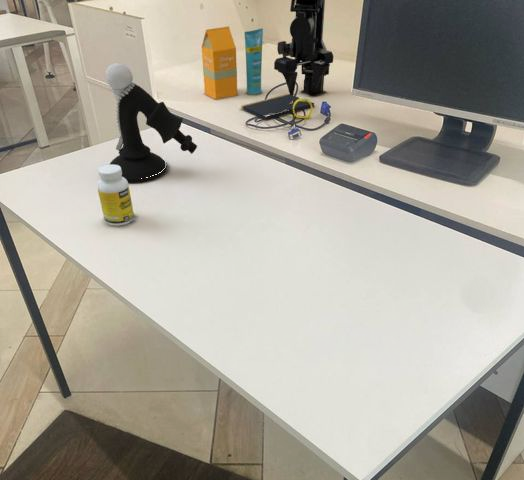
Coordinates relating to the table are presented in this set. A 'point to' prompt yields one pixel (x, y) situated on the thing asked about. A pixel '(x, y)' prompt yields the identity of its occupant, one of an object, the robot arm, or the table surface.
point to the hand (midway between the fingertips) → (302, 92)
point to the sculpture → (158, 117)
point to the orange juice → (219, 63)
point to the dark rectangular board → (275, 106)
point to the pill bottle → (114, 195)
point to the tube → (253, 60)
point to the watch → (302, 101)
